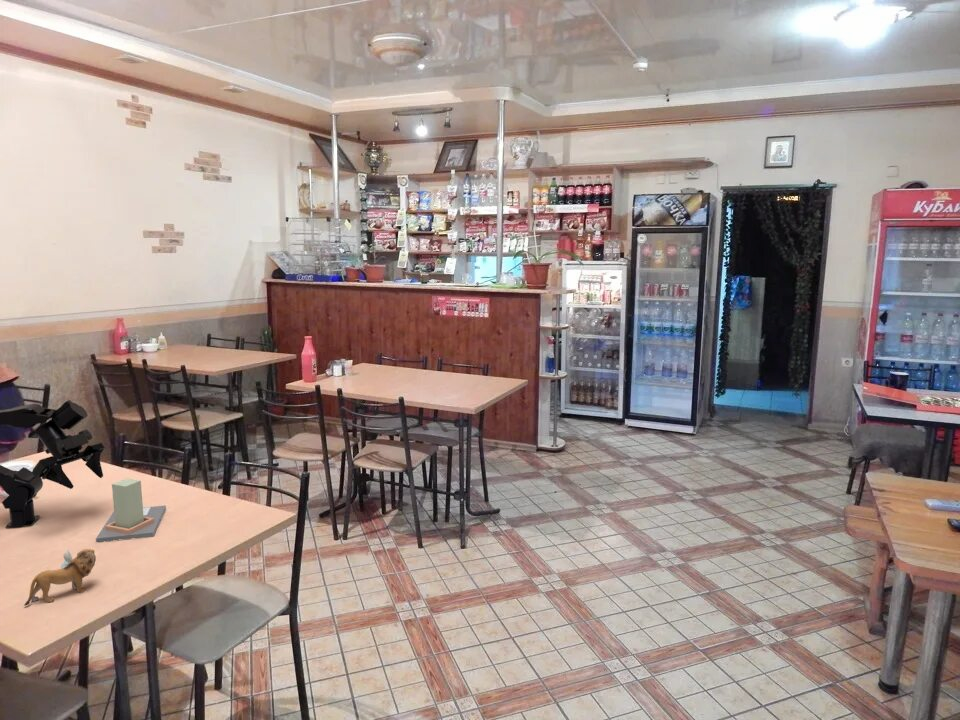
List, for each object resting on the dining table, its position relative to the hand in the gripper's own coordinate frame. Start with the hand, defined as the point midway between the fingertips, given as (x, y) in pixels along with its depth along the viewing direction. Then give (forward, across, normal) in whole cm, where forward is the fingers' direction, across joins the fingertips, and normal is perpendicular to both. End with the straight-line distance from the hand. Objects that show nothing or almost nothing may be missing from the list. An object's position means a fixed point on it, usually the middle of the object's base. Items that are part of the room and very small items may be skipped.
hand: (87, 482), depth 175 cm
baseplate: (+17, +5, +2) cm, 17 cm away
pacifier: (+24, -20, -4) cm, 32 cm away
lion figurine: (+28, -28, -9) cm, 41 cm away
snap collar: (+17, +2, 0) cm, 17 cm away
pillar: (+17, +2, 0) cm, 17 cm away
